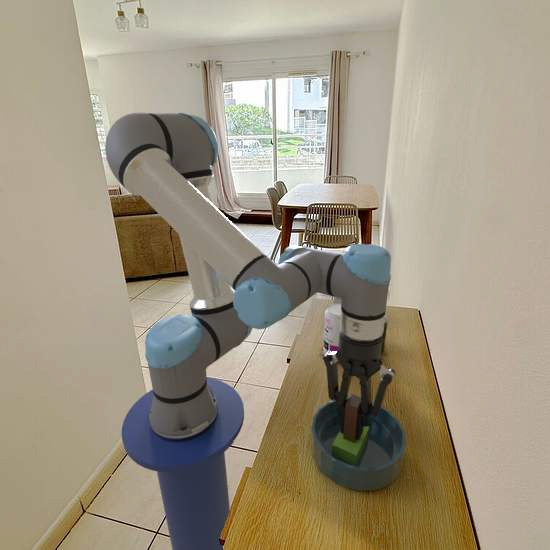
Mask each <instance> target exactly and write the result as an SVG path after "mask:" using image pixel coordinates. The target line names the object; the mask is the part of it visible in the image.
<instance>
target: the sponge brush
mask: <svg viewBox="0 0 550 550" xmlns="http://www.w3.org/2000/svg"><path fill="white" fill-rule="evenodd" d="M348 398H349V399H348V401H347V402H346V408H345V421H344V434H342V433H340V432H339V434H338V435H337V437H336V439H335V441H334V443H333V446H332V456H334V457H337V458H339V459H341V460H343V461H345V462H347V463H350V464H352V465H354V466H356V465H357V462H358V460H359V458H360V455H361V453H362V451H363V449H364V446H365V444H366V442H367V440H368V436H369V427H365V426H364V428H363V433H362V435H361V437H360V439H359V440H356V439H355V437H356V427H357V416H358V412H359V410H360V408H361V396H359V395H357V394H353V393H351V394H350V396H348Z"/></svg>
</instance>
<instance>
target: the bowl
mask: <svg viewBox="0 0 550 550" xmlns="http://www.w3.org/2000/svg"><path fill="white" fill-rule="evenodd" d="M347 399H349V397H347ZM347 399H346V400H347ZM374 402H375V401H372V404H374ZM337 408H338V404H337V402H336V401H335V400H330V401H328V402H326V403H325V404H323V405H322V406H320V407H319V408H318V409H317V411H316V412H315V413H314V415H313V417H312V422H311V428H310V450H311V454H312V457H313V460H314V462H315V464H316V465H317V467H318V468H319V470H320V471H321V473H323V474H324V475H325V476H326V477H327V478H329V479H330V480H331V481H333V482H335V483H337V485H338V484H339V485H340V486H343V487H344V488H347V489H352V490H356V491H357V490H358V491H362V492H365V491H367V492H368V491H377V490H380V489H383V488H385V487H386V486H389V485H391V484H392V483H394V481H395V480H396V479H397V478H398V477H399V476H400V475H401V472H402V468H403V466H404V465H403V464H404V460H405V454H406V449H407V436H406V431H405V429H404V427H403V426H402V424H401V422H400V420H399V419H398V418H397V417H396V416H395V415H394V414H393V413H392V412H391V411H390V410H389V409H387V408H385V407H384V406H382V407H381V409H380V411H379V413H378V416H373V415H372V414H370V421H369V423H368V425H367V427H369V436H368V440H367V442H366V444H365V446H364V449H363V451H362V453H361V455H360V458H359V460H358V462H357V465H356V466H354V465H352V464H350V463H347V462H345V461H343V460H341V459H339V458H337V457H334V456H332V446H333V443H334V441H335V439H336V437H337V435H338V434H339V432H340V430H341V417H339V416H338V415H337Z"/></svg>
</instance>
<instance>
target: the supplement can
mask: <svg viewBox="0 0 550 550" xmlns="http://www.w3.org/2000/svg"><path fill="white" fill-rule="evenodd" d="M340 317H341V304H330V305H328V306H327V309H326V310H325V312H324V326H323V327H324V329H323V347H322V348H323V351H322V352H323V353H322V354H323V355H324V356H325V354H326V353H327V352H328V351H329V350H331V351H333V352H336V351H337V350H338V348H339V347H338V346H339V332H340ZM337 363H339V361H338V360H337Z"/></svg>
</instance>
